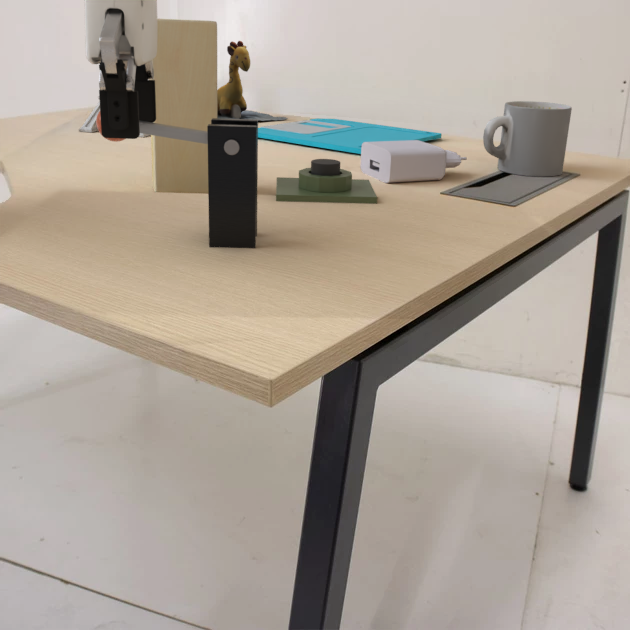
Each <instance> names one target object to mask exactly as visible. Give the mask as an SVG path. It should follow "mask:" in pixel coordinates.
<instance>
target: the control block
mask: <svg viewBox="0 0 630 630" xmlns="http://www.w3.org/2000/svg"><path fill="white" fill-rule="evenodd" d="M275 189H276V190H275V201H276V202H293V203H295V202H296V203H297V202H298V203H331V204H332V203H334V204H336V203H337V204H372V205H373V204H375V205H376V204H378V196H377V194H376V192H375V190H374V188H373V186H372V183H371V181H370V180H369V179H359V178H358V179H355V178H353V173H352V172H351V171H349V170H347V169H343V168H340V175H336V176H320V175H313V174H311V167H305V168H303V169H299V170H298V177H283V176H282V177H281V176H280V177H276V188H275Z"/></svg>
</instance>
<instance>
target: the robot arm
mask: <svg viewBox="0 0 630 630" xmlns="http://www.w3.org/2000/svg"><path fill="white" fill-rule="evenodd" d="M83 3H84V48H85V58H86V60H87V61H88V62H89V63H90V64H91V65H98V68H99V76H98V87H99V89H98V96H99V98H100V100H99V101H100V116H101V133H102V135H101V136H102V138H104V137H105V138H124V139H125V140H129V139H130V140H135V139H138V138H140V137H139V135H140V127H139V120H140V121H146V122H152V123H153V122H154V121H155V120H156V94H155V80H153V79H154V69H153V63H152V59H154V58H155V57H156V54H157V19H158V0H84V2H83ZM105 138H104V139H105Z"/></svg>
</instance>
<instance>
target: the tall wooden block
mask: <svg viewBox="0 0 630 630" xmlns="http://www.w3.org/2000/svg"><path fill="white" fill-rule="evenodd" d="M152 63H153V69H154V79H153V80H155V94H156V120H155V121H154V122H153V123H158V124H165V125H171V126H177V127H183V128H189V129H195V130H202V131H207V126H208V124H211V120H212V118H217V90H218V23H217V21H215V20H201V19H177V18H157V54H156V57H155V58H154V59H152ZM150 149H151V153H150V154H151V180H152V182H151V183H152V184H151V185H152V188H153V191H154V193H163V194H164V193H166V194H167V193H168V194H169V193H170V194H201V195H202V194H205V195H208V144H203V143H197V142H191V141H185V140H178V139H172V138H166V137H160V136H154V135H150Z"/></svg>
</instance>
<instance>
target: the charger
mask: <svg viewBox="0 0 630 630" xmlns="http://www.w3.org/2000/svg"><path fill="white" fill-rule="evenodd" d="M466 160H467V156H461V155H460V154H458V153H457V152H456V151H452V150H449V149H444V148H442V147H441V146H439V145H435V144H431V143H429V142H426V141H423V142H422V141H419V140H406V141H378V142H364V143H362V146H361V154H360V164H359V167H360V171H361V172H362V174H363V175H366V176H368V177H370V178H373V179H375V180H377V181H380V182H382V183H384V184H391V183H392V184H393V183H406V182H407V183H409V182H425V181H427V182H429V181H440V180H442V179H443V178H444V176H445V175H446V169H455V168H457V167H459V166H460V165H461V164H462V161H466Z"/></svg>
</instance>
